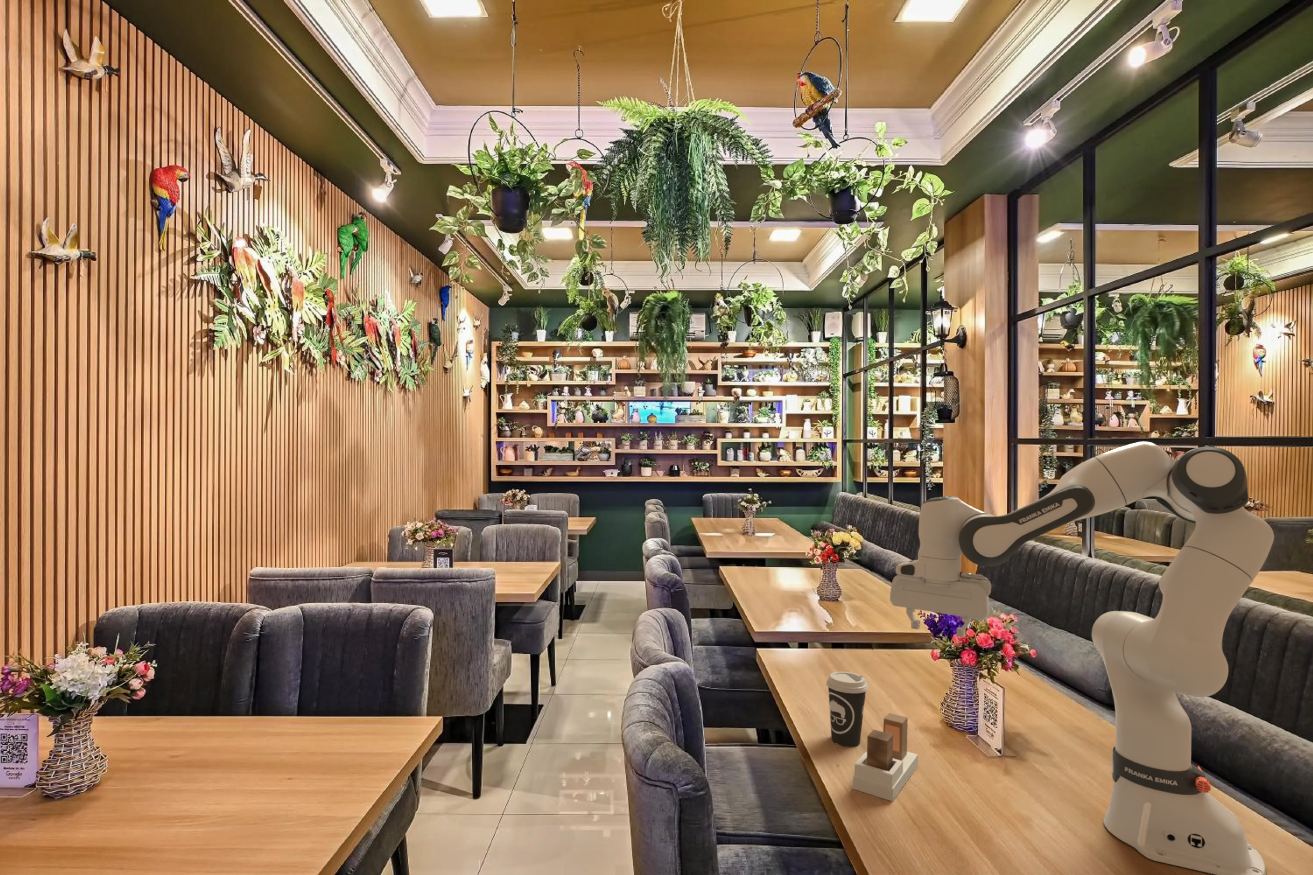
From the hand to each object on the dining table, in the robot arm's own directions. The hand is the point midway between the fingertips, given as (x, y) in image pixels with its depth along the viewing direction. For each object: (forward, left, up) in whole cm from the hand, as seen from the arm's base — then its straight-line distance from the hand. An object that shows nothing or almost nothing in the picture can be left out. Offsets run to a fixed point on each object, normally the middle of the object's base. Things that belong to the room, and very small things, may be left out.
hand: (937, 632), depth 147 cm
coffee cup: (+20, 0, -29) cm, 35 cm away
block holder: (+7, +12, -29) cm, 32 cm away
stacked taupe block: (+7, +17, -27) cm, 33 cm away
